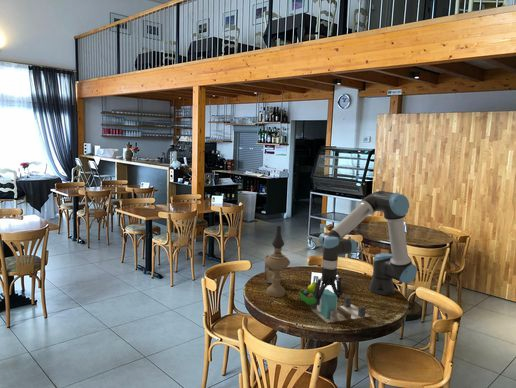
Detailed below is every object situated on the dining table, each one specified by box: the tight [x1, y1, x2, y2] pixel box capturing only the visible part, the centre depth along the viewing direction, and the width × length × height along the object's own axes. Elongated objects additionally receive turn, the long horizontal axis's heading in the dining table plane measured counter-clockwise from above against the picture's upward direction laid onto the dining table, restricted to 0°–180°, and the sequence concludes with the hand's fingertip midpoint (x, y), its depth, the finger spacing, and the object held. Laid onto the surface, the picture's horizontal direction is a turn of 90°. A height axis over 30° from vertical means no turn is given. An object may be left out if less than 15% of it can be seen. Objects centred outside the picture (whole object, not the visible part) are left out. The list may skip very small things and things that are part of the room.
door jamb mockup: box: [311, 296, 371, 324], centre depth 213 cm, size 26×16×6 cm, turn 112°
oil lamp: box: [264, 225, 291, 298], centre depth 236 cm, size 15×15×40 cm
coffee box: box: [263, 254, 281, 284], centre depth 257 cm, size 9×6×16 cm
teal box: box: [318, 288, 337, 319], centre depth 209 cm, size 5×9×12 cm, turn 22°
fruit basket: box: [298, 281, 317, 306], centre depth 227 cm, size 11×9×11 cm
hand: (326, 309), depth 210 cm, fingers open, 9 cm apart
